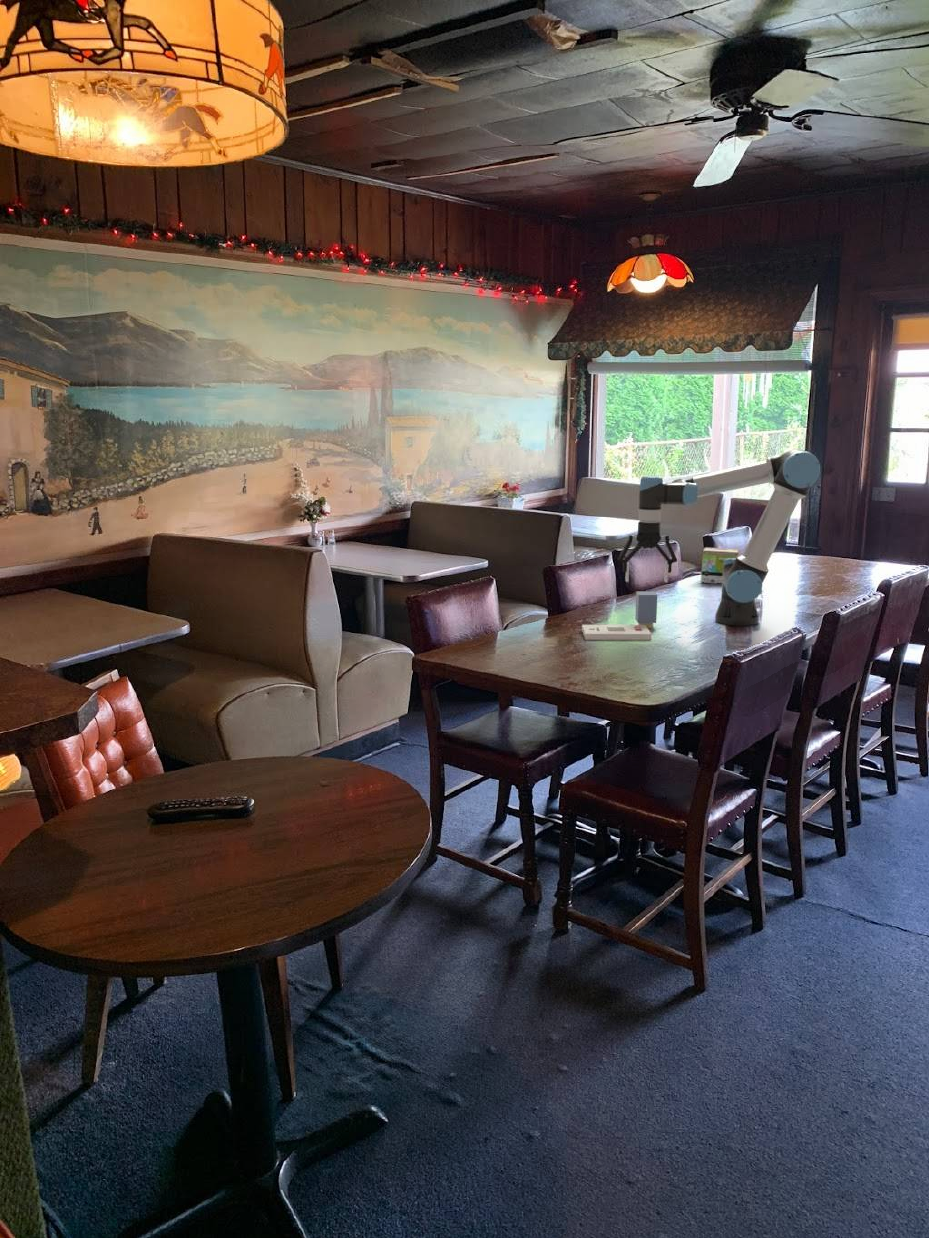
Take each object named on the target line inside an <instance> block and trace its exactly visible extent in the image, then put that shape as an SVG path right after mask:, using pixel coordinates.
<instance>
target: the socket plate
mask: <svg viewBox="0 0 929 1238" xmlns="http://www.w3.org/2000/svg"><path fill="white" fill-rule="evenodd" d="M581 631H582V633H583V637H584V640H589V641H591V640H594V641H595V640H599V641H601V640H603V641H604V640H605V641H607V640H609V641H610V640H617V641H619V640H621V641H622V640H625V641H628V640H633V641H634V640H635V641H642V640H643V641H644V640H646V641H650V640H652V632H651V631H650V628H647V626H646V625H638V624H582V626H581Z"/></svg>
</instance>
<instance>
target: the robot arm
mask: <svg viewBox="0 0 929 1238" xmlns="http://www.w3.org/2000/svg"><path fill="white" fill-rule="evenodd" d="M820 474H821V464H820V461H819V459H818V458H817V456H816V455H814V454H813V452H812V453H811V452H810V451H806V450H802V449H792V450H789V451H786V452H783V453H779V454H776V455H773V456H768V457H766V459H765V460H763V461H760V462H754V463H751V464H750V463H749V464H745V465H740V466H736V467H731V468H726V469H723V470H717V471H714V472H709V473H704V474H700V475H695V476H691V477H685V478H678V479H674V480H673V481H672V482H666V481H664V480H663V477H662V476H660V475H645V476H642V477H641V478H640V484H639V497H638V500H639V501H638V523H637V534H636V535H632V534H628V536H627V541H626V543H625V545H624V546H623V548H622V551H621V552H620V554H619V556H618V559H617V560H618V561H619V562H621V563H622V572H623V573H625V577H624V578H625V580H624V581H625V582H626V583H630V582H629V581H630V580H629V579H630V578H629V577H630V562H629V561H631V559H632V558H633V557H634V556H635V554H637V553H638V551H639V550H641V549H642V548H643V549H654V548H656V549H657V551H658V552H659V553H660V554H661V556H662V557H663V558H664V559H665V561H666V562H665V563H664V575H663V576H664V577H663V578H664V579H663V581H664V582H665V583H669V574H671V572H672V566H673V563H677V561H678V559H677V556H676V554H675V552H674V549H673V548H672V545H671V542H670V536H669V535H668V534H664V535H661V522H660V521H661V515H662V513H661V511H662V505H673V506H674V505H676V506H677V505H678V506H679V505H680V506H695V505H697V503H698V498H701V497H706V496H710V495H711V496H712V495H715V494H716V495H717V494H721V493H725V492H729V491H735V490H740V489H744V488H750V487H754V486H759V485H765V484H771V485H773V487H774V488H773V489H774V490H773V491H772V494H771V496H770V498H769V500H768V502H767V504H766V505H765V506H766V507H765V508H764V510H763V513H762V515H761V517H760V518H759V520H758V522H757V525H756V527H755V529H754V531H753V533H752V535H751V537H750V540H749V541H748V543H747V545H746V547H745V550H744V551H743V553H742V554H739V555H738V556H737V557H736V559H734V558H729V559H725V560H724V563H723V578H722V584H721V598H720V602H719V605H718V606H717V607H718V608H717V610H716V612H715V617H714V618H715V619H714V621H716V623H720V624H723V625H726V626H727V625H728V626H737V627H740V626H741V627H742V626H743V627H744V626H745V627H746V626H747V627H748V626H754V625H758V624H759V622H760V621H759V619H760V618H759V617H760V616H759V612H758V610H757V609H758V608H757V605H756V601H755V600H756V599H757V598H758V597H759V596H760V594H761V593H762V589H763V583H764V581H765V580H766V577H767V575H768V573H769V568H768V562H769V561H770V559H771V557H772V554H773V553H774V551H775V549H776V547H777V544H778V542H779V541H780V539H781V537H782V535H783V533H784V531H785V528H786V527H787V525H788V523H789V521H790V519H791V517H792V515H793V512H794V510H795V508H796V507H797V505H798V503H799V501H800V500H802V499H805V498H806V497H807V495H808V493H809V492H810V489H811V487H812V485H814V484H815V483H816V482H817V480H819V477H820ZM635 540H636V541H637V544H636V545H634V548H632V550H631V551H630V552H628V551H629V549H630V547H631V545H632V544H633V543H632V542H635ZM661 540H662V542H664V544H665V546H666V548H667V550H668V552H669V556H670V557H671V558H670V557H669V556H668V555H667V553H666V552H665V551H664V550H663V549H662V547H661V546H660V545H659V543H660V541H661ZM627 552H628V554H627ZM626 554H627V555H626Z"/></svg>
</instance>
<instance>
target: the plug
mask: <svg viewBox="0 0 929 1238" xmlns="http://www.w3.org/2000/svg"><path fill="white" fill-rule="evenodd" d="M635 595H636V597H635V621H636V622H637V623H638V624H637V625H646V626H647V628H648V629H652V628H653V627H654V624H657V613H658V610H657V609H658V594H657V593H656V592H655V591H635Z"/></svg>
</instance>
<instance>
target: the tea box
mask: <svg viewBox="0 0 929 1238" xmlns="http://www.w3.org/2000/svg"><path fill="white" fill-rule="evenodd" d="M737 556H740V549H739V548H723V547H722V548H721V547H704V548H703V551H702V557H701V558H702V560H701V561H702V562H701V572H700V583H701V582H704V584H705V583H706V584H717V583H722V578H723V563H724V560H725V559H729V558H734V559H736V557H737Z"/></svg>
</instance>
